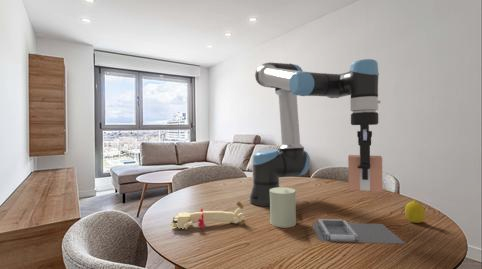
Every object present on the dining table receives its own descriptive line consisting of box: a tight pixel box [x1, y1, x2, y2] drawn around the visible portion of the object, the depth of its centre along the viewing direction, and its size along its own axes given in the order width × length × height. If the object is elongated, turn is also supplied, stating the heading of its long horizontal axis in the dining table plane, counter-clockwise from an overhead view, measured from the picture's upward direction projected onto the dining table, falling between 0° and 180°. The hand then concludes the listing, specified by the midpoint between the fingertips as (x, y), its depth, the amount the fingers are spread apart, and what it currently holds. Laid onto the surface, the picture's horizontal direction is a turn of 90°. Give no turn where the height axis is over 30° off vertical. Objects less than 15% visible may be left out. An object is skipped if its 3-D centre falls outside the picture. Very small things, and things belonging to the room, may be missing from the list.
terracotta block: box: [347, 154, 383, 193], centre depth 75 cm, size 9×5×10 cm, turn 65°
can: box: [269, 186, 297, 229], centre depth 86 cm, size 9×9×12 cm
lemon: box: [404, 200, 426, 224], centre depth 82 cm, size 6×6×8 cm
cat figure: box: [170, 200, 246, 230], centre depth 86 cm, size 10×9×25 cm
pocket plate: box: [311, 218, 406, 245], centre depth 76 cm, size 23×14×2 cm, turn 84°
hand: (364, 187), depth 75 cm, fingers closed on terracotta block, 5 cm apart
